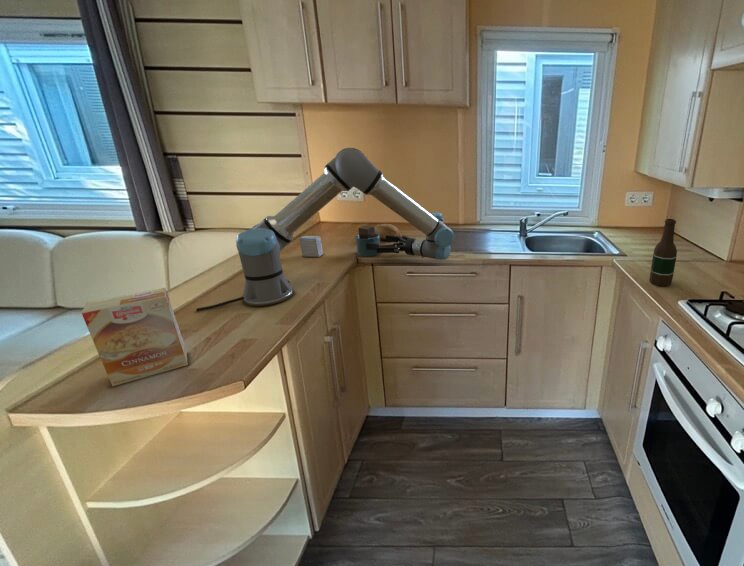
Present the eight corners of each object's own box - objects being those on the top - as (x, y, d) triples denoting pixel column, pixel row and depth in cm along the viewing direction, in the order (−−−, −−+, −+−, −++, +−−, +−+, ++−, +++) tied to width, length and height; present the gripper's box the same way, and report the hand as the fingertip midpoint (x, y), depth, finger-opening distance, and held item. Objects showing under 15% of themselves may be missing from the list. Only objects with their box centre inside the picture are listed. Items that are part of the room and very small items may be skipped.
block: (368, 239, 181) (367, 229, 179) (359, 238, 183) (358, 228, 181) (375, 237, 185) (374, 226, 183) (366, 235, 187) (365, 225, 185)
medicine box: (323, 254, 186) (320, 235, 182) (319, 257, 182) (315, 238, 178) (307, 253, 186) (304, 235, 183) (302, 256, 182) (298, 238, 179)
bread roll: (395, 243, 201) (394, 227, 198) (369, 240, 205) (367, 225, 202) (404, 238, 209) (403, 223, 206) (379, 235, 213) (377, 221, 210)
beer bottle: (672, 281, 152) (684, 218, 143) (669, 288, 145) (681, 223, 136) (651, 277, 155) (660, 216, 146) (647, 284, 149) (657, 220, 140)
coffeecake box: (111, 387, 95) (79, 313, 87) (114, 373, 100) (85, 301, 93) (188, 365, 103) (165, 295, 95) (187, 353, 108) (165, 286, 101)
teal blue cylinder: (360, 258, 180) (358, 240, 177) (354, 251, 189) (352, 234, 186) (384, 254, 185) (382, 236, 182) (377, 248, 194) (375, 231, 191)
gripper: (400, 264, 165) (359, 257, 174) (432, 247, 186) (394, 242, 195) (398, 247, 163) (357, 241, 171) (431, 231, 184) (392, 227, 192)
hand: (376, 241), depth 183 cm, fingers open, 13 cm apart
